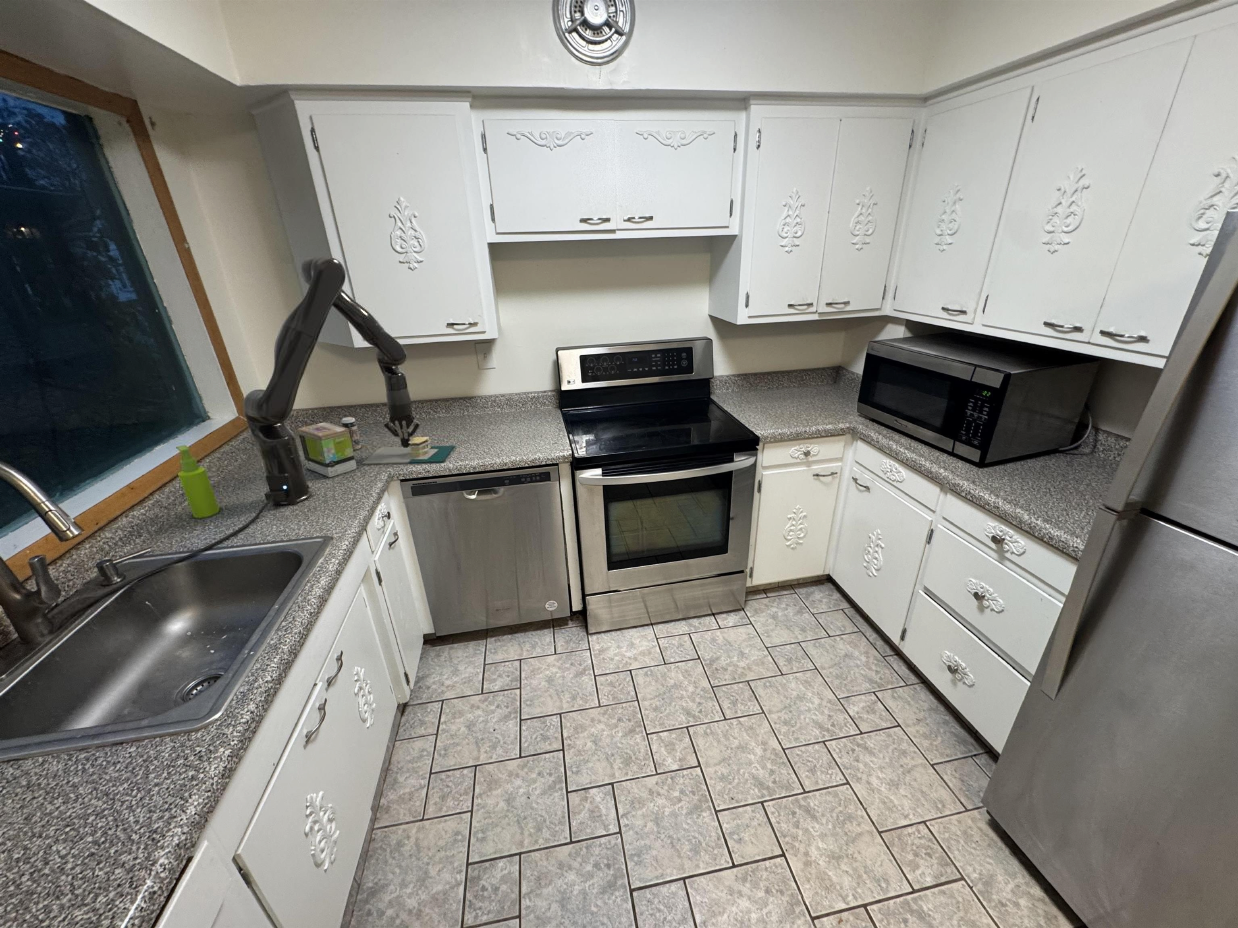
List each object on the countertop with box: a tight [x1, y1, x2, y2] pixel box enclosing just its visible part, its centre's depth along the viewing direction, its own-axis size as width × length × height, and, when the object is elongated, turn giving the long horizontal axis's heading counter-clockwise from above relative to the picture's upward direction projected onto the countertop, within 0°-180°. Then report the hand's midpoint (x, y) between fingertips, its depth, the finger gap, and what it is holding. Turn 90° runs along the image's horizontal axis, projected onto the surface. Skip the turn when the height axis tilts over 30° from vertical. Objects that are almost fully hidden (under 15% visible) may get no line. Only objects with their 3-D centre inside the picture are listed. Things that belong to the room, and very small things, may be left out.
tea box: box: [297, 421, 357, 478], centre depth 171 cm, size 15×10×15 cm, turn 56°
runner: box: [361, 445, 455, 466], centre depth 185 cm, size 16×28×1 cm, turn 93°
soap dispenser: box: [175, 444, 220, 519], centre depth 141 cm, size 6×7×20 cm
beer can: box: [341, 416, 362, 451], centre depth 190 cm, size 5×5×12 cm
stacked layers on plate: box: [403, 436, 439, 459], centre depth 184 cm, size 10×9×6 cm
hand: (406, 447), depth 184 cm, fingers closed
